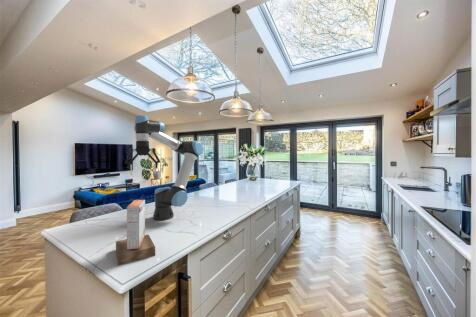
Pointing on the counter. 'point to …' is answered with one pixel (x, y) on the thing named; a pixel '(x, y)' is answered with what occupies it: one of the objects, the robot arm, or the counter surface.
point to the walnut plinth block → (134, 251)
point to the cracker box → (135, 224)
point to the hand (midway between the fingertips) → (143, 174)
